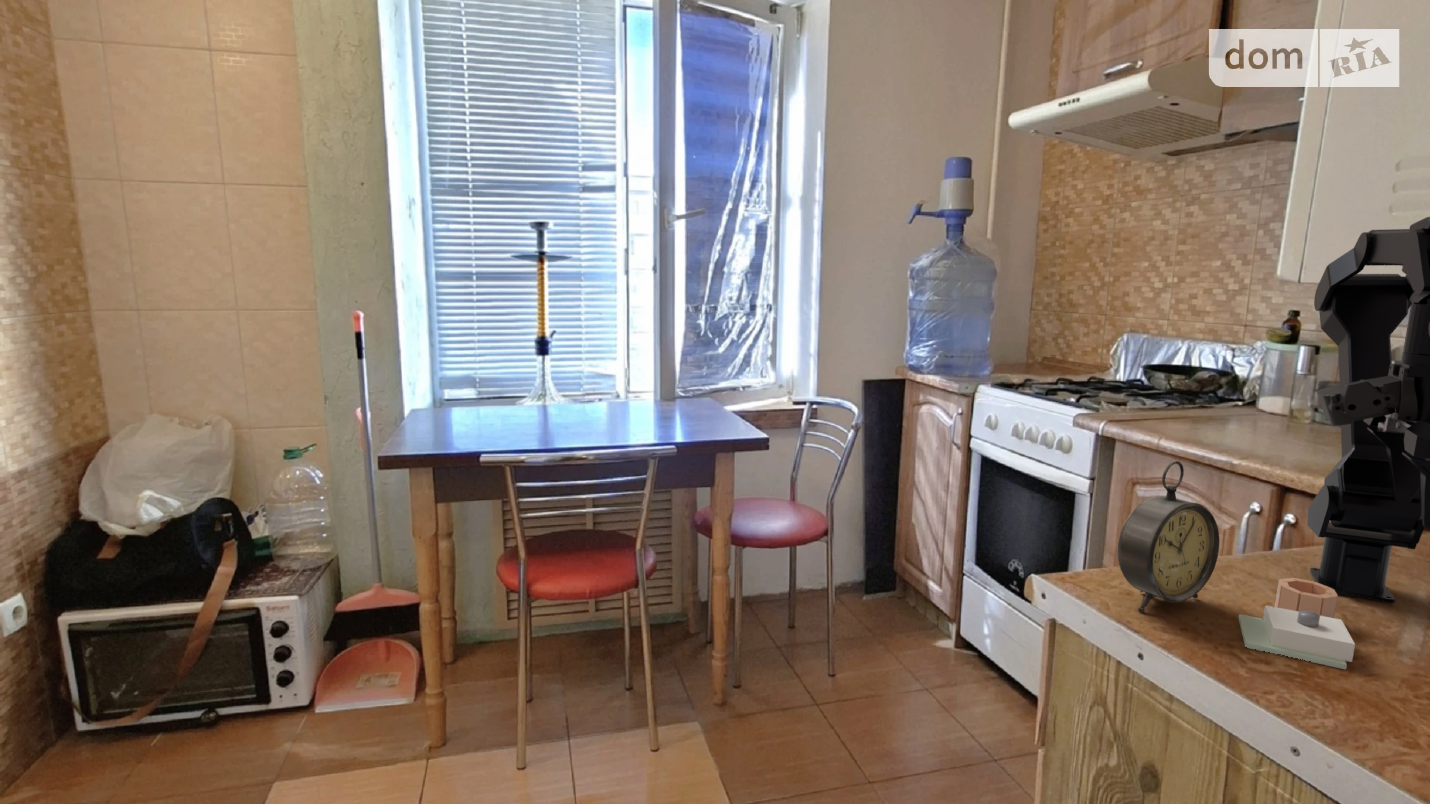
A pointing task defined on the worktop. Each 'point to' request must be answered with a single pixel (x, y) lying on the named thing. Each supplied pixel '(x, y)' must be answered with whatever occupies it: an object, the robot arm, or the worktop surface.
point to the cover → (1308, 633)
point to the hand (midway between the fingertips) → (1415, 514)
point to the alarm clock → (1168, 546)
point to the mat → (1259, 640)
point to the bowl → (1306, 597)
